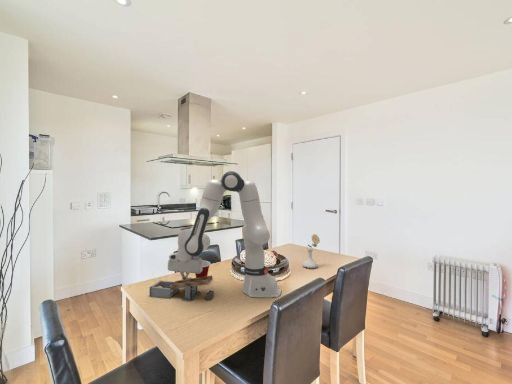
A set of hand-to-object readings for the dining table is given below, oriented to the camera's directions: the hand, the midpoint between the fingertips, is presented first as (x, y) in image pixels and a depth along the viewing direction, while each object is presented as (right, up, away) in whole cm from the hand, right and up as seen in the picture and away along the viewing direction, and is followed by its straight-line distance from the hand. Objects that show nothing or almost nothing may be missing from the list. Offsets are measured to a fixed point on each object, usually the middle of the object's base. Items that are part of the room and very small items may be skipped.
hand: (184, 279), depth 147 cm
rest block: (+16, -7, -10) cm, 20 cm away
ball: (-13, -4, -4) cm, 14 cm away
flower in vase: (+82, -6, +45) cm, 94 cm away
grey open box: (-10, -6, -5) cm, 13 cm away
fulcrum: (+6, -6, -8) cm, 12 cm away
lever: (+7, 0, -5) cm, 8 cm away
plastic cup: (+7, -6, +13) cm, 16 cm away
